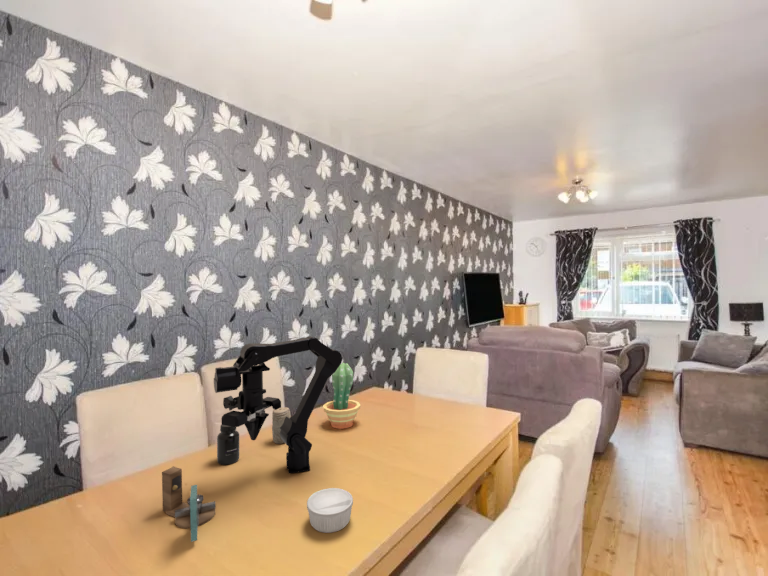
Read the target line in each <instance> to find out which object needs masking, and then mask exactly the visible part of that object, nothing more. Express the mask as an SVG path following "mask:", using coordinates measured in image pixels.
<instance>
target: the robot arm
mask: <svg viewBox="0 0 768 576" xmlns="http://www.w3.org/2000/svg"><path fill="white" fill-rule="evenodd" d="M307 351H309V352H311V353H312V354H313V355H315V356H316V357H317V358H316V361H315V371H314V374H313V376H312V378H311V380H310V382H309V384H308V386H307V388H306V390H305V392H304V393H303V396H302V398H301V400H300V402H299V405H298V406H297V408H296V410H295V412H294V414H292V415H291V417H290V418H288V417H287V416H286V418H285V420H284V423H283V425H282V426H281V427H280V429H281V431H280V437H281V439H282V440H283V441H284V443H283V444H286V446H287V447H288V448H287V450H288V451H287V452H286V454H285V455H286V456H285V457H286V462H285V464H286V470H288V474H296V473H301V472H303V473H304V472H308V471H310V470H311V466H310V452H311V450H312V446H313V444H312V442H310V441H309V440H308V439H307V438H306V437H307V436H306V435H307V432H308V425H309V419H310V417H311V415H312V412H313V411H314V409H315V407H316V404H317V402H318V401H319V398H320V397H321V394H322V392H323V391H324V388H325V386H326V384H327V382H328V380H329V378H331V377H332V374H334V373H335V372H336V370H337V369H338V367H339V366H340V364H342V363H343V356H342V354H341V352H340V351H338V350H335V349H333V348H330V347H329V346H327V345H326V344H324V343H322V342H321V341H320V340H319V339H318V338H317V337H314V336H310V335H309V336H306V337H302V338H296V339H290V340H286V341H280V342H275V343H263V342H262V343H260V342H259V343H257V342H256V343H255V342H253V343H251V342H250V343H247V344H244V345H243V347H242V348H241V350H240V351H239V356H238V357H237V359H236V361H234V363H233V365H232V366H226V367H221V366H219V367H215V370H214V371H215V372H214V378H213V388H214V392H215V394H217V393H224V392H225V393H226V392H230V391H231V392H232V391H236V390H238V389H239V388H240V386H241V385H242V388H241V391H239V392H238V396H235V397H233V396H232V395H229V396H226V397H224V398H223V403H222V405H223V407H224V409H225V410H227V409H228V410H229V411H228V412H225V413H223V415H222V416H221V424H222V425H226V426H232V427H236V428H237V427H238V428H239V427H241V426H243V425H244V426H245V428H246V430H247V433H248V436H249V437H250V440H251V441H256V440H257V438H258V436H259V434H260V431H261V429H262V427H263V425H264V423H265V421H266V420H267V418H268V416H269V414H270V413H267V412H266V409H269V408H272V409H273V410H277V409H279V408H282V401H281V399H280V398H279V397H272V396H267V397H264V395H265V394H266V393H267V389H266V388H264V383H263V382H264V373H263V372H267V371H270V370H271V368H270V367H269V366H267V365H266V364H265V363H266V362H268V361H270V360H272V359H274V358H277V357H282V356H283V357H284V356H287V355H293V354H296V353H302V352H307ZM234 409H237V410H234ZM241 410H242V411H241Z"/></svg>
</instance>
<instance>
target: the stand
mask: <svg viewBox="0 0 768 576" xmlns="http://www.w3.org/2000/svg"><path fill="white" fill-rule="evenodd" d="M161 482H162V483H161V486H162V493H161V494H162V495H161V498H162V511H163V512H165V514H166V515H168V516H171V517H174V519H175V520H174V523H175V525H176V526H177V527H178V528H180V529H191V518H190V514H189V515H185V516H180V517H176V518H175V510H179V509H183V508H187V507H189V504H188V503H187V502H184V501H183V471H182V468H180V467H176V466H172V467H169V468H168V469H166V470H163V471H162V472H161ZM202 504H205V502H204V503H203V502H202ZM215 515H216V507H215V508H214V509H210V510H206V511H202V512H201V513H199V525H198V527H200V526H203V525H204V524H206V523H208V522H210V521H211V520H212V519H213V518H214V517H215Z"/></svg>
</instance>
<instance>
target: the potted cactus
mask: <svg viewBox="0 0 768 576" xmlns="http://www.w3.org/2000/svg"><path fill="white" fill-rule="evenodd" d="M331 382H332V383H331V385H332V387H333V400H331V401H327V402H325V403H324V404H323V406H322V407H323V411H324V413H326V417H327V420H328V421H330V423H331V427H332V428H334V429H340V430H341V429H347V428H350V427H352V426H353V425H354V420H355V419H356V417H357V415H358V411H359V410H360V409H361V404H360V402H359V401H357V400H355V399H350V398H349V397H350V393H351V389H352V386H353V384H354V371H353V369H352V367H350V365H349V364H348V363H345V362H342V363H341V364H340V366H339V367H338V369H337V370H336V372H335V373H334V374H332V375H331Z"/></svg>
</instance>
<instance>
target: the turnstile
mask: <svg viewBox="0 0 768 576" xmlns="http://www.w3.org/2000/svg"><path fill="white" fill-rule="evenodd" d="M203 501H204V495H202V494H198V484H194V485H191V486H190V495H189V497H188V498H187V502H186V503H187V504H189V507H187V508H183V509H179V510H175V517H174V519H175V518H176V517H180V516H185V515H189V514H190V518H191V528H190V542H191V543H192V542H196V541H198V531H199V530H198V528H199V526H198V525H199V513H201V512H202V511H206V510H210V509H214V508H215V509H216V501H215V500H214V501H211V502H206V503H205V502H204V503H205V504H202V503H203Z"/></svg>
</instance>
